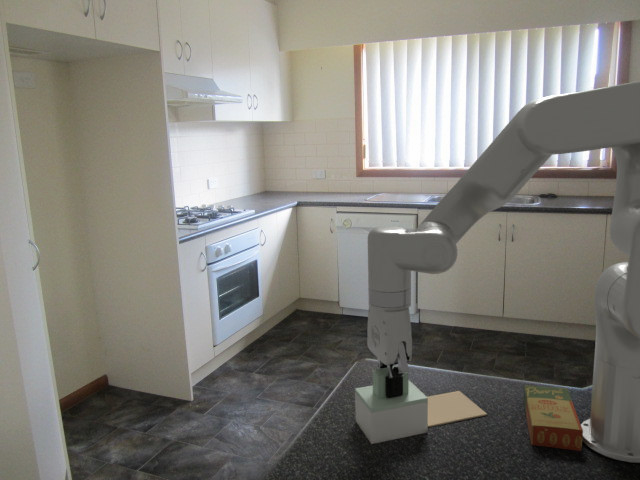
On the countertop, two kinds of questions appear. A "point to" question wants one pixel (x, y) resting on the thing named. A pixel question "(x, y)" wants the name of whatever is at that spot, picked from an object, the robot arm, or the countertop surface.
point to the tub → (391, 421)
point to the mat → (451, 408)
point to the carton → (552, 418)
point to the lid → (377, 397)
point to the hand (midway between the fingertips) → (390, 391)
